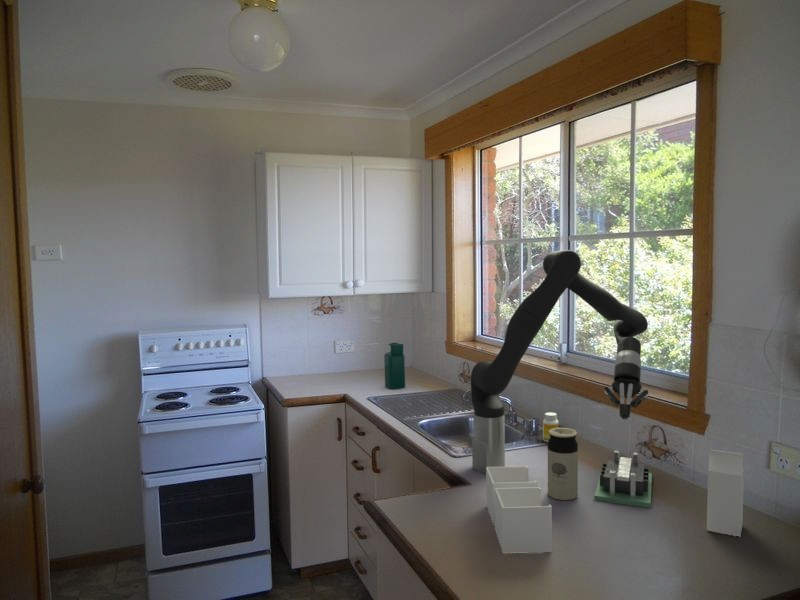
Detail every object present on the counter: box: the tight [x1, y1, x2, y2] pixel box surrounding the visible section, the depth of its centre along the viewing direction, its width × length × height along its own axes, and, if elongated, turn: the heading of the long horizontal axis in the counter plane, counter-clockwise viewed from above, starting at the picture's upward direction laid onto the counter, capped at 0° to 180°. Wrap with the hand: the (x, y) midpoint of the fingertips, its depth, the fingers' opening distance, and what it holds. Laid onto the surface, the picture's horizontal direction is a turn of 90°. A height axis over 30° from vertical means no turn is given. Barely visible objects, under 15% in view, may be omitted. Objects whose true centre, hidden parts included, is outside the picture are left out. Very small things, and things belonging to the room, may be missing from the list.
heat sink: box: [599, 450, 650, 498], centre depth 171 cm, size 17×12×7 cm
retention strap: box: [617, 456, 633, 481], centre depth 171 cm, size 16×3×1 cm, turn 157°
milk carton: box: [706, 449, 745, 538], centre depth 146 cm, size 7×7×19 cm
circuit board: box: [593, 468, 653, 508], centre depth 171 cm, size 22×14×1 cm, turn 157°
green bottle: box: [383, 342, 406, 390], centre depth 296 cm, size 10×8×22 cm
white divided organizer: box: [485, 465, 553, 553], centre depth 149 cm, size 25×11×11 cm, turn 0°
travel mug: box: [547, 427, 579, 501], centre depth 167 cm, size 8×8×18 cm
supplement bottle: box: [542, 412, 560, 443], centre depth 213 cm, size 5×5×10 cm
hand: (624, 417), depth 177 cm, fingers closed
